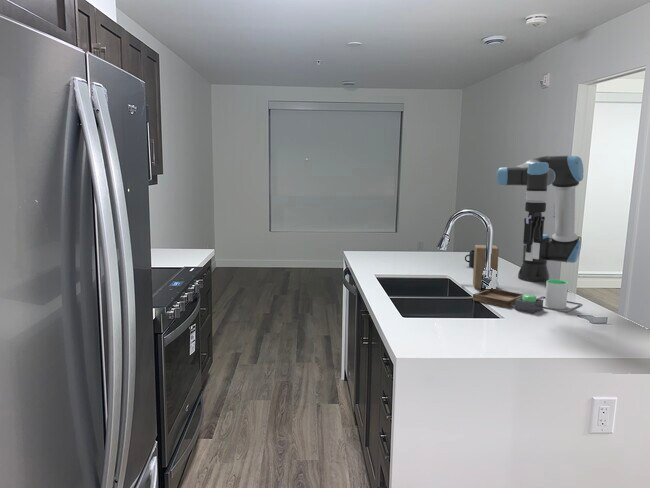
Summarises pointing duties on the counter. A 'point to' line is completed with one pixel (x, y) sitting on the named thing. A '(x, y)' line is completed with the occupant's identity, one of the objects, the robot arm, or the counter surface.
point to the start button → (529, 298)
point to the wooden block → (483, 263)
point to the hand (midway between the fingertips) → (531, 259)
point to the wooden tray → (497, 297)
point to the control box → (529, 305)
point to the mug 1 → (470, 258)
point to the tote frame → (562, 310)
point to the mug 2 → (556, 294)
